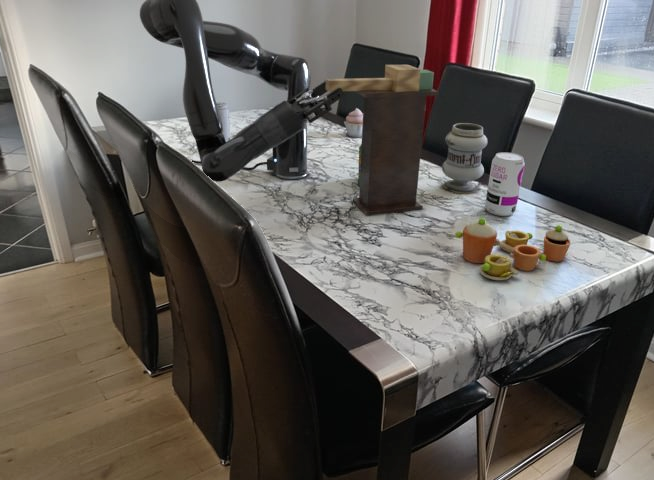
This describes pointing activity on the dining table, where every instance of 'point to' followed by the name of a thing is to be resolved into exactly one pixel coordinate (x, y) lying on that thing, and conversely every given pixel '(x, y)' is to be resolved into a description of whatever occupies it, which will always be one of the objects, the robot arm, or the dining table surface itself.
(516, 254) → the toy tea set
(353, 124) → the cupcake
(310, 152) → the dining table surface
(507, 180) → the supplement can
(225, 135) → the energy drink can
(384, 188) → the stand
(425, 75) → the block
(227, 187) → the dining table surface
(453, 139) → the apothecary jar
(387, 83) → the mallet
